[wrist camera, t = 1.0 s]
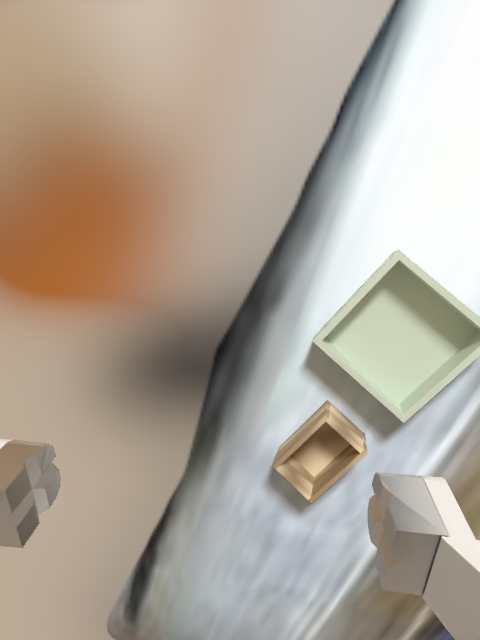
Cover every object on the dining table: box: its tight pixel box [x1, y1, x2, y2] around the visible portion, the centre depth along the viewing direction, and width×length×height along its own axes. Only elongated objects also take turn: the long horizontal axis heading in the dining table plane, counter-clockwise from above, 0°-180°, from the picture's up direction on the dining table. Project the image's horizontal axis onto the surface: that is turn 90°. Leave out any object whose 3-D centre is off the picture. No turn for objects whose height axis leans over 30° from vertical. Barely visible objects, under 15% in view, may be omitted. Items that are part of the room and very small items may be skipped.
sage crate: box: [313, 250, 480, 423], centre depth 42 cm, size 13×13×4 cm
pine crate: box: [273, 400, 367, 503], centre depth 46 cm, size 6×9×5 cm, turn 139°
